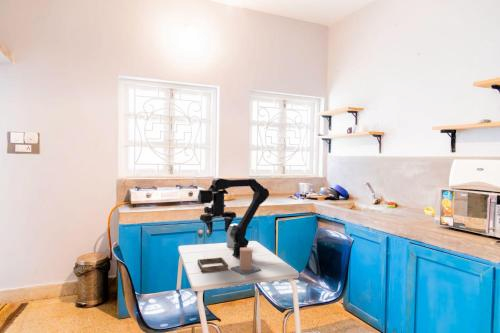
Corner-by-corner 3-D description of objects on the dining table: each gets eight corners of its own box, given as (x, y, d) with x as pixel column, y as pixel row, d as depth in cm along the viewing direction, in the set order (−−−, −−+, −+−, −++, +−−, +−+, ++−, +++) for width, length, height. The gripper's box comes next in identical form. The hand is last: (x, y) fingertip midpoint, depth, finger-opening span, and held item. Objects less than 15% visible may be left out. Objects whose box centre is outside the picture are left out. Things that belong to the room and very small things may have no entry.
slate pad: (247, 264, 153) (247, 263, 153) (261, 270, 145) (261, 269, 145) (230, 268, 147) (230, 267, 147) (243, 275, 139) (243, 273, 139)
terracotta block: (239, 266, 148) (239, 247, 148) (250, 266, 149) (250, 247, 149) (240, 270, 143) (241, 250, 143) (251, 270, 144) (252, 250, 144)
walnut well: (222, 261, 158) (222, 257, 158) (228, 269, 146) (228, 265, 146) (197, 263, 154) (197, 259, 154) (201, 272, 142) (201, 267, 142)
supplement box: (236, 248, 180) (236, 226, 180) (226, 246, 185) (226, 225, 184) (244, 245, 186) (244, 224, 186) (234, 243, 191) (234, 223, 190)
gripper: (225, 199, 174) (224, 228, 174) (194, 202, 163) (194, 232, 163) (236, 202, 165) (236, 231, 166) (205, 204, 154) (205, 236, 154)
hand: (218, 233), depth 162 cm, fingers open, 9 cm apart
